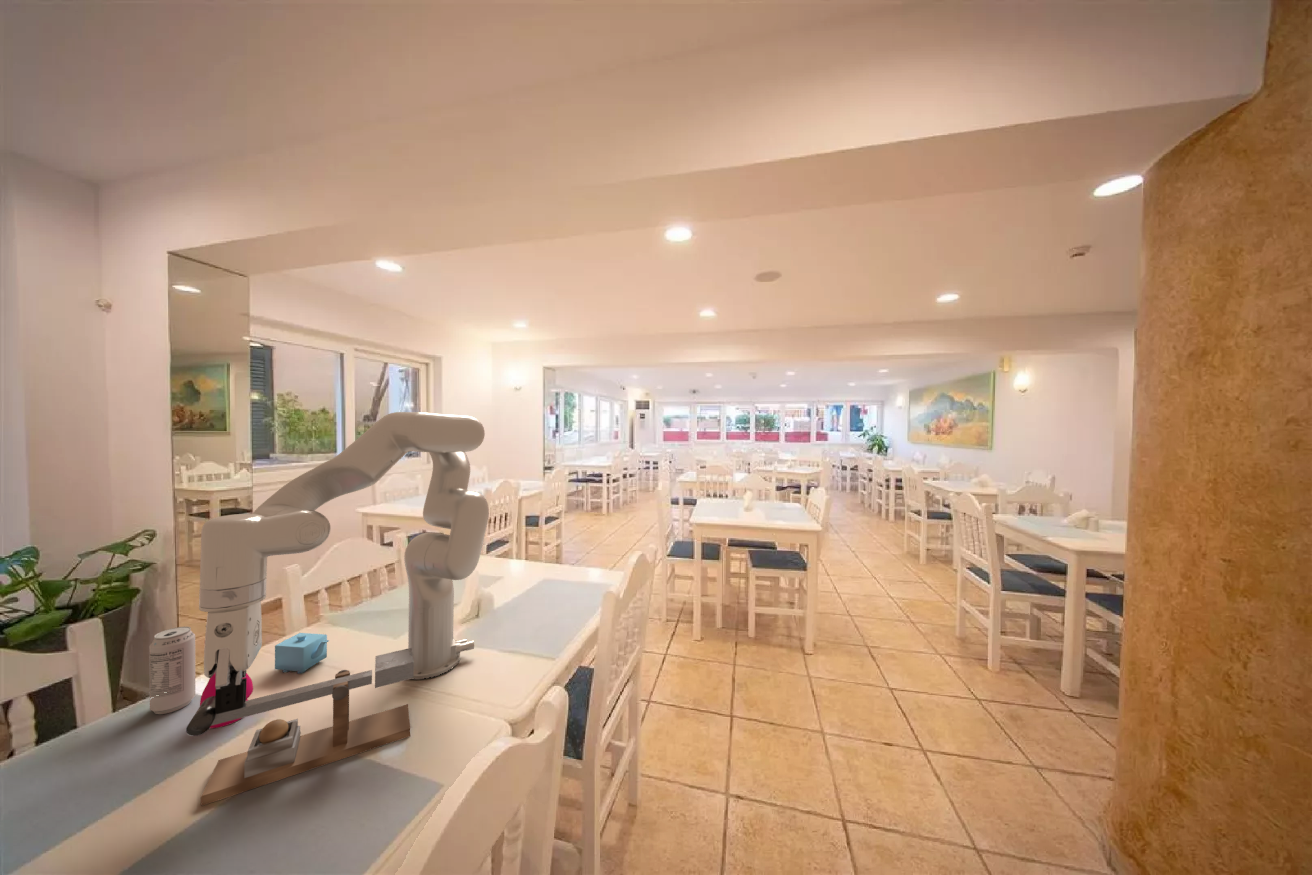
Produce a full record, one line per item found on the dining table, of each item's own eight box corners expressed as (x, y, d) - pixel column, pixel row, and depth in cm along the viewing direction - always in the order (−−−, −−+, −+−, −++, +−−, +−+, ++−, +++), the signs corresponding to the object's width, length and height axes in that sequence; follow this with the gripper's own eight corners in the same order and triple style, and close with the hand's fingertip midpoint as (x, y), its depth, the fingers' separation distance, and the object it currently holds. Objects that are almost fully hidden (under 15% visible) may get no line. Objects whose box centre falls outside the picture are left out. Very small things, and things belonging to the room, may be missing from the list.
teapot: (339, 661, 101) (339, 630, 101) (317, 676, 95) (317, 643, 95) (294, 658, 102) (294, 627, 102) (268, 672, 96) (268, 640, 96)
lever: (411, 662, 83) (411, 647, 83) (413, 678, 78) (413, 662, 78) (200, 715, 67) (200, 696, 67) (186, 739, 62) (186, 718, 62)
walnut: (290, 731, 72) (290, 711, 72) (286, 745, 69) (286, 724, 69) (262, 740, 70) (262, 719, 70) (256, 754, 67) (256, 732, 67)
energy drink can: (204, 695, 88) (203, 624, 87) (176, 714, 82) (175, 638, 81) (170, 697, 87) (170, 625, 86) (139, 717, 81) (139, 640, 80)
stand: (408, 711, 84) (408, 651, 84) (410, 736, 77) (410, 671, 77) (218, 768, 69) (218, 696, 69) (201, 805, 63) (200, 726, 62)
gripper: (253, 605, 62) (250, 728, 62) (275, 575, 75) (272, 677, 75) (180, 615, 58) (176, 747, 58) (216, 582, 71) (213, 690, 71)
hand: (230, 707), depth 67 cm, fingers closed
